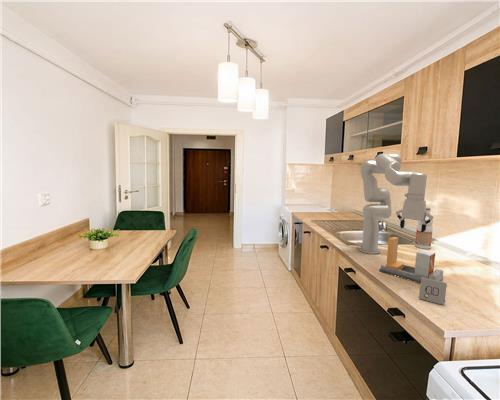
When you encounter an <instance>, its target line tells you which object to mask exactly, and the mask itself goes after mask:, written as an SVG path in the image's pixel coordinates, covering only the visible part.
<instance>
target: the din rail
mask: <svg viewBox="0 0 500 400" xmlns="http://www.w3.org/2000/svg"><path fill="white" fill-rule="evenodd" d="M380 271H382V272H381V273H384V272H385V274H387V273H388V274H387V275H390V274H392V275H391V276H394V275H396V276H395V277H397V276H399V277H398V278H401V277H402V278H401V279H404V278H405V280H407V279H409V280H408V281H411V280H412V281H411V282H414V281H415V282H414V283H418V282H419V283H418V284H421V278H427V277H423V276H419V275H416V274H414V273H415V266H412V265H408V264H404V268H403V269H402V270H398V269H394V268H391V267H387V266H386V265H383V264H381V265H380V268H379V272H380ZM428 279H432V280H437V281H441V282H443V280H444V270H442V269H438V268H436V269H435V270H433V272H432V273H431V274H429V278H428Z"/></svg>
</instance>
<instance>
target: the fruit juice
mask: <svg viewBox="0 0 500 400" xmlns="http://www.w3.org/2000/svg"><path fill="white" fill-rule="evenodd" d="M431 210H432V209H431V208H430V207H426V212H427V213H428V214H430V215H431ZM428 219H429V217H427V216H426V218H425V220H426V221H427V220H428ZM433 223H434V218H433V219H432V220H431V222H429V223H428V224H426V230H425V231H424V232H421V228H422V224H423V223H422V222H421V221H419V220H417V226H416V233H415V242H414V243H415V244H414V246H415V247H416V248H418V249H421V250H429V249H431V247H432V240H433V239H432V237H433Z"/></svg>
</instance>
